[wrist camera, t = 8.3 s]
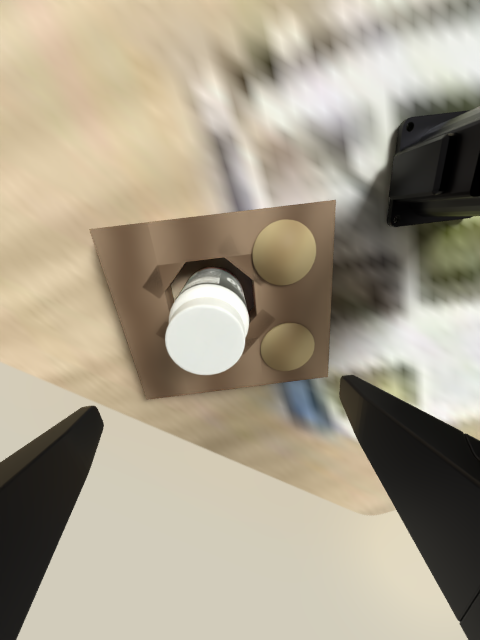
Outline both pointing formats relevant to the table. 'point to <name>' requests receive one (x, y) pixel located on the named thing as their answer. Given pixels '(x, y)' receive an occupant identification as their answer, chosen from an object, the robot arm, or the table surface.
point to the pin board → (267, 283)
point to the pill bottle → (208, 323)
